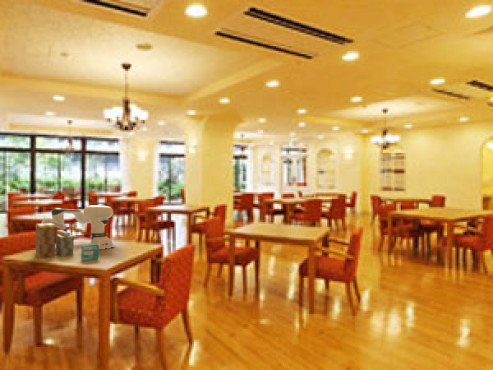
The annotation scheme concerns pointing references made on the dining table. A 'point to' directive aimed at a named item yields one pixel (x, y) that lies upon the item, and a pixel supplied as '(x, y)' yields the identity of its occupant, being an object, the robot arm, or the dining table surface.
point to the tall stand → (45, 240)
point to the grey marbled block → (64, 245)
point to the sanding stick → (63, 233)
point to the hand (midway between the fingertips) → (57, 224)
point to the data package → (89, 252)
